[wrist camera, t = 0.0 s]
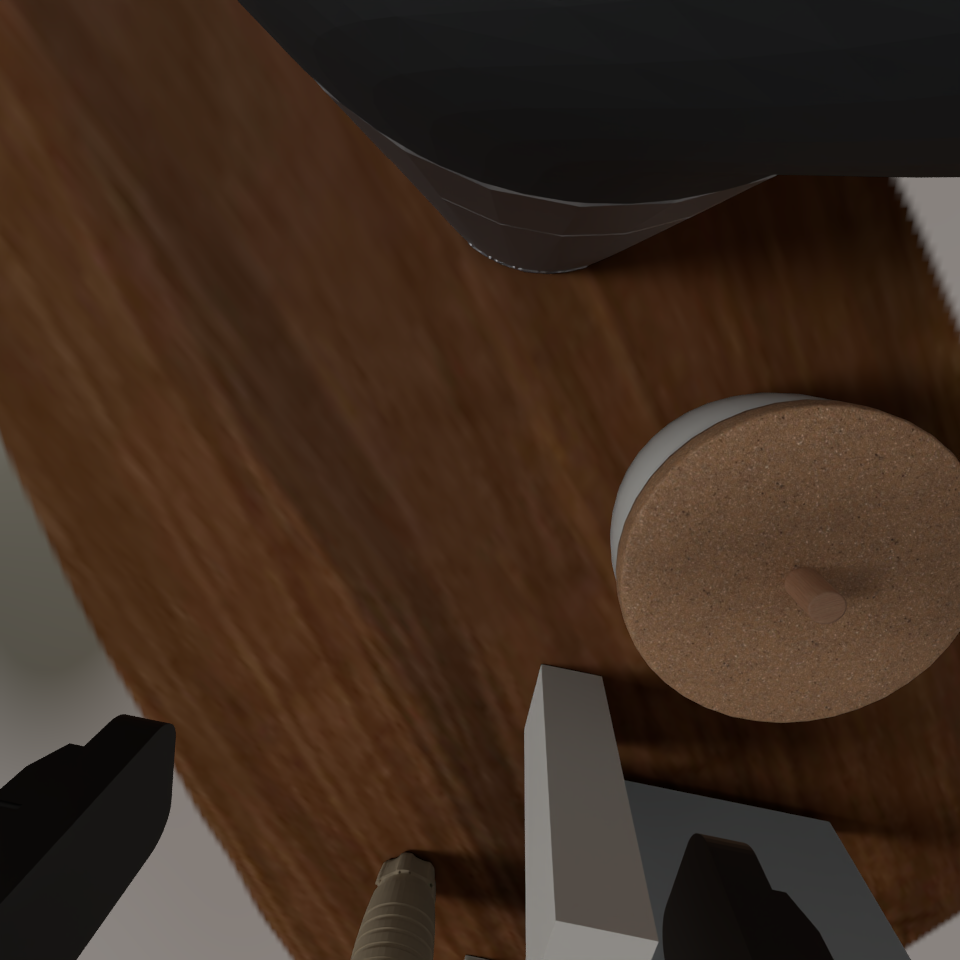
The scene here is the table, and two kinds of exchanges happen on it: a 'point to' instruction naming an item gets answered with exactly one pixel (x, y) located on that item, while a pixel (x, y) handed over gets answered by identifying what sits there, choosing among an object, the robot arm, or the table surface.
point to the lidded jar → (789, 555)
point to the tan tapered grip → (400, 913)
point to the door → (765, 865)
